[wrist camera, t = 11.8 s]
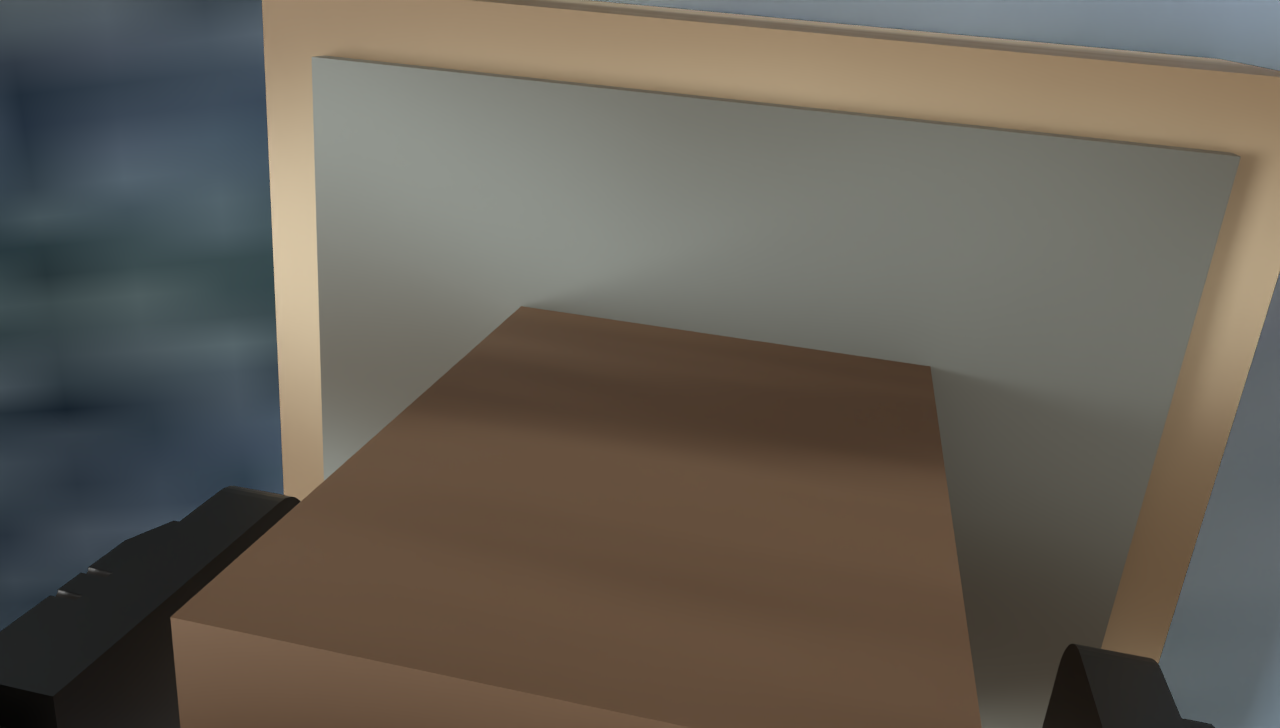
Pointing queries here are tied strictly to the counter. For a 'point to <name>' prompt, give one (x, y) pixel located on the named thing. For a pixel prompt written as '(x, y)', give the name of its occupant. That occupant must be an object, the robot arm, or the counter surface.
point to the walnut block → (608, 551)
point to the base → (805, 253)
